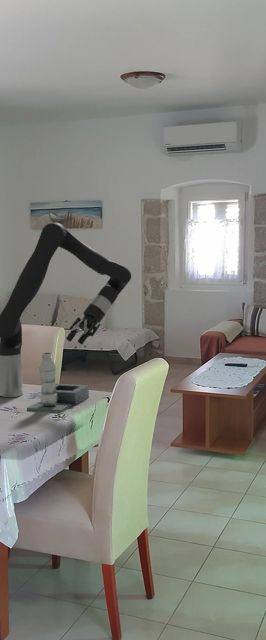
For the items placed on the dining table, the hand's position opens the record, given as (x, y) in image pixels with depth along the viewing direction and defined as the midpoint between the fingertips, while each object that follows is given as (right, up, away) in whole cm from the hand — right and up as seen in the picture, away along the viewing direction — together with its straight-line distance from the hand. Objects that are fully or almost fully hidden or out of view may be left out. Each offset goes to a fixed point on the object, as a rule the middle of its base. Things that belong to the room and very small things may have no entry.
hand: (73, 341), depth 248 cm
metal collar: (-4, -24, +8) cm, 25 cm away
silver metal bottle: (-9, -24, -4) cm, 26 cm away
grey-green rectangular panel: (-9, -25, -4) cm, 27 cm away
